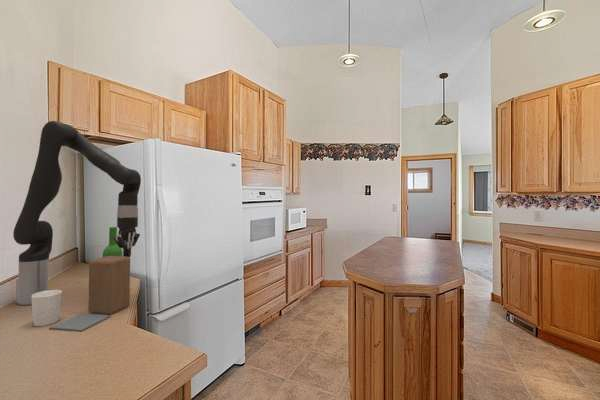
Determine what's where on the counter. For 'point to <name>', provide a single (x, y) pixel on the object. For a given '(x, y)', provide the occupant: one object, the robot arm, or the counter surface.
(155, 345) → the counter surface
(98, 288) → the wooden block
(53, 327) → the slate rubber mat
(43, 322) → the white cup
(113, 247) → the wine bottle
